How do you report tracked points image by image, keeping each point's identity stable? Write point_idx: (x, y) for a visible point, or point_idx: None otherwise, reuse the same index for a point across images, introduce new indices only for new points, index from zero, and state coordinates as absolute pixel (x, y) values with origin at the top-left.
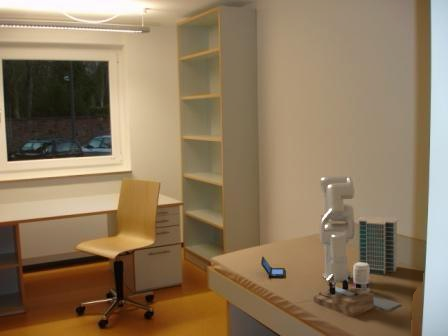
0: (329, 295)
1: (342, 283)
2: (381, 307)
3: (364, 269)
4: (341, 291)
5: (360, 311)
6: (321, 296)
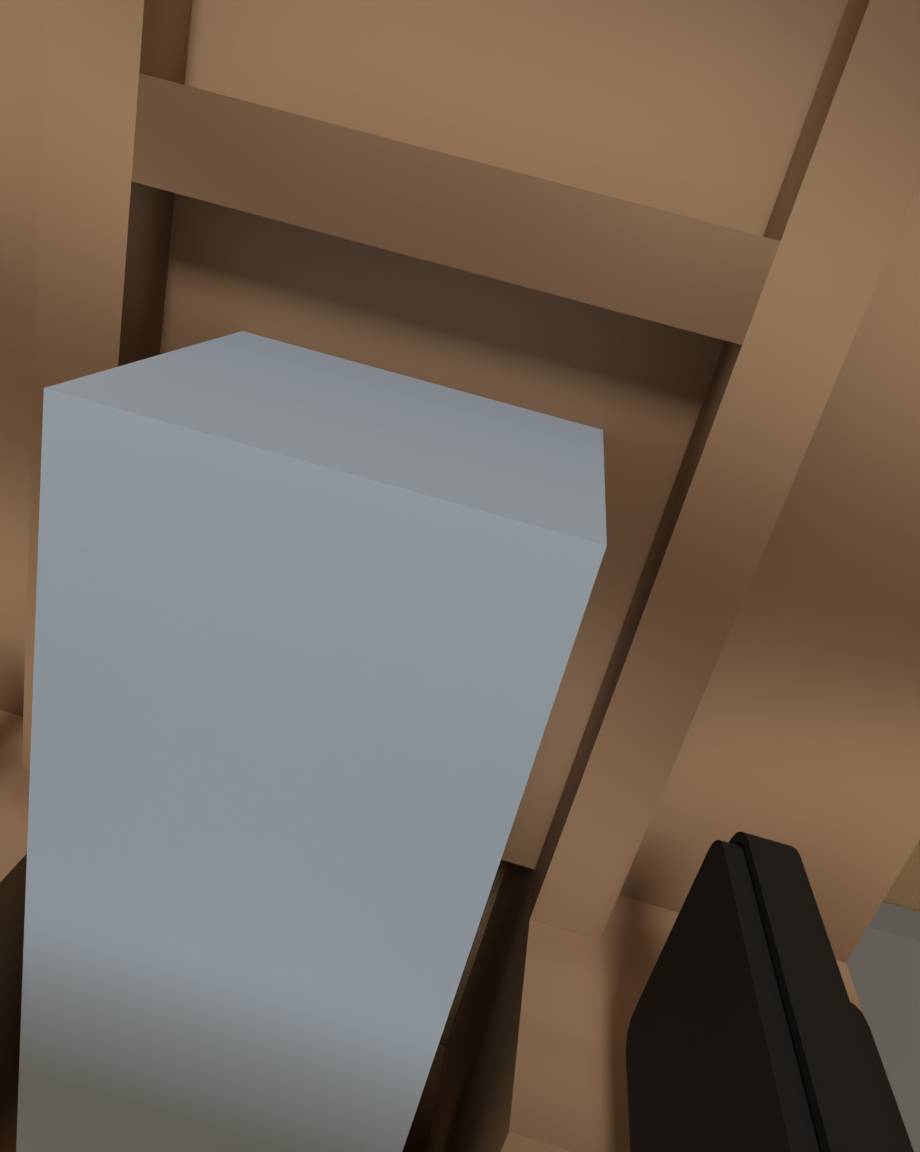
0: (334, 266)
1: (780, 1103)
2: None
3: None
4: (160, 998)
5: None
6: (17, 2)
